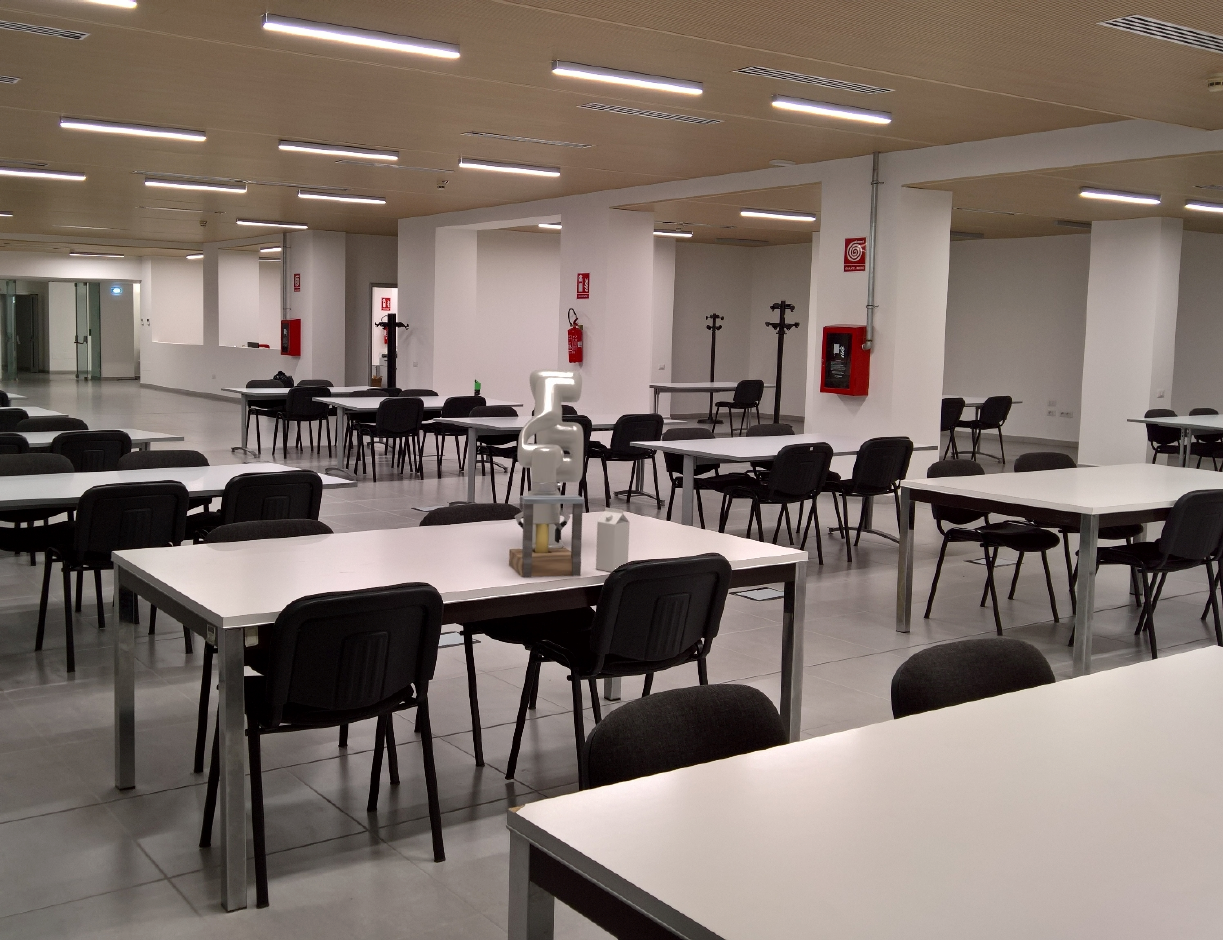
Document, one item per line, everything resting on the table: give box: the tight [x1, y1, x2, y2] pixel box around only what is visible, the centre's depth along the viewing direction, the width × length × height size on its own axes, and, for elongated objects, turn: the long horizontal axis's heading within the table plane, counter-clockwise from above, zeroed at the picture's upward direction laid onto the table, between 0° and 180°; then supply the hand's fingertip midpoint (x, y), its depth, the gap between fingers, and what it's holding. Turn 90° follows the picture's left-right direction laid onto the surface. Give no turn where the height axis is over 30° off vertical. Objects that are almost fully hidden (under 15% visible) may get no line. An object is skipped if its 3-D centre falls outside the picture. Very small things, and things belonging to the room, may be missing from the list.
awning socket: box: [508, 494, 585, 578], centre depth 340 cm, size 20×18×23 cm
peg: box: [535, 524, 549, 553], centre depth 345 cm, size 4×4×14 cm
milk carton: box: [595, 507, 631, 573], centre depth 346 cm, size 7×7×19 cm
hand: (541, 542), depth 345 cm, fingers open, 9 cm apart
